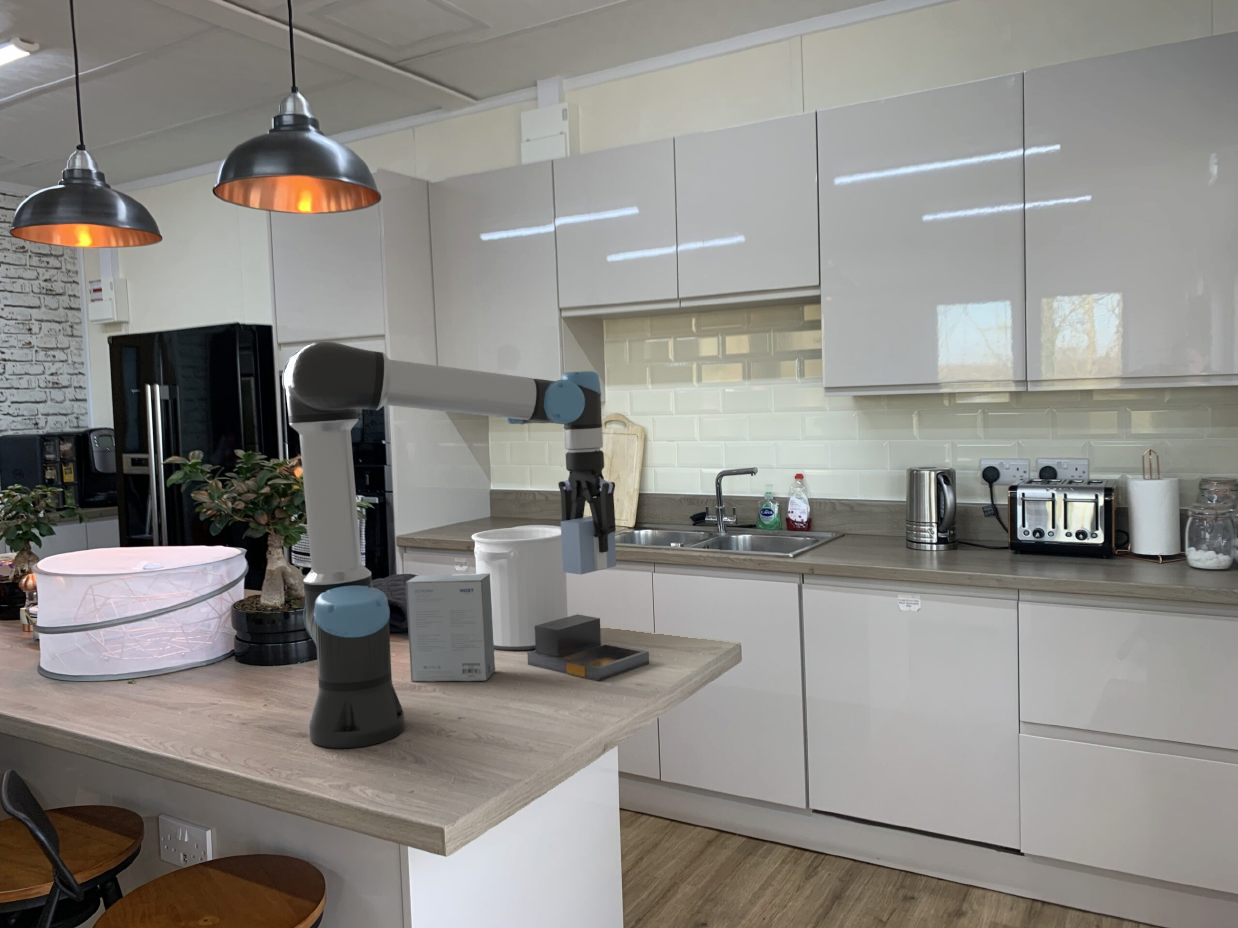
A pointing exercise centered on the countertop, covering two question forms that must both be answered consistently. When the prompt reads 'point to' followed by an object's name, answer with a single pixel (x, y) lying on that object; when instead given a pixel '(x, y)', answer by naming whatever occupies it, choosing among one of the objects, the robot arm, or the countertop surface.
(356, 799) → the countertop surface
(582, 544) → the block
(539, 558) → the bucket
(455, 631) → the hard drive box
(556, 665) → the tray
